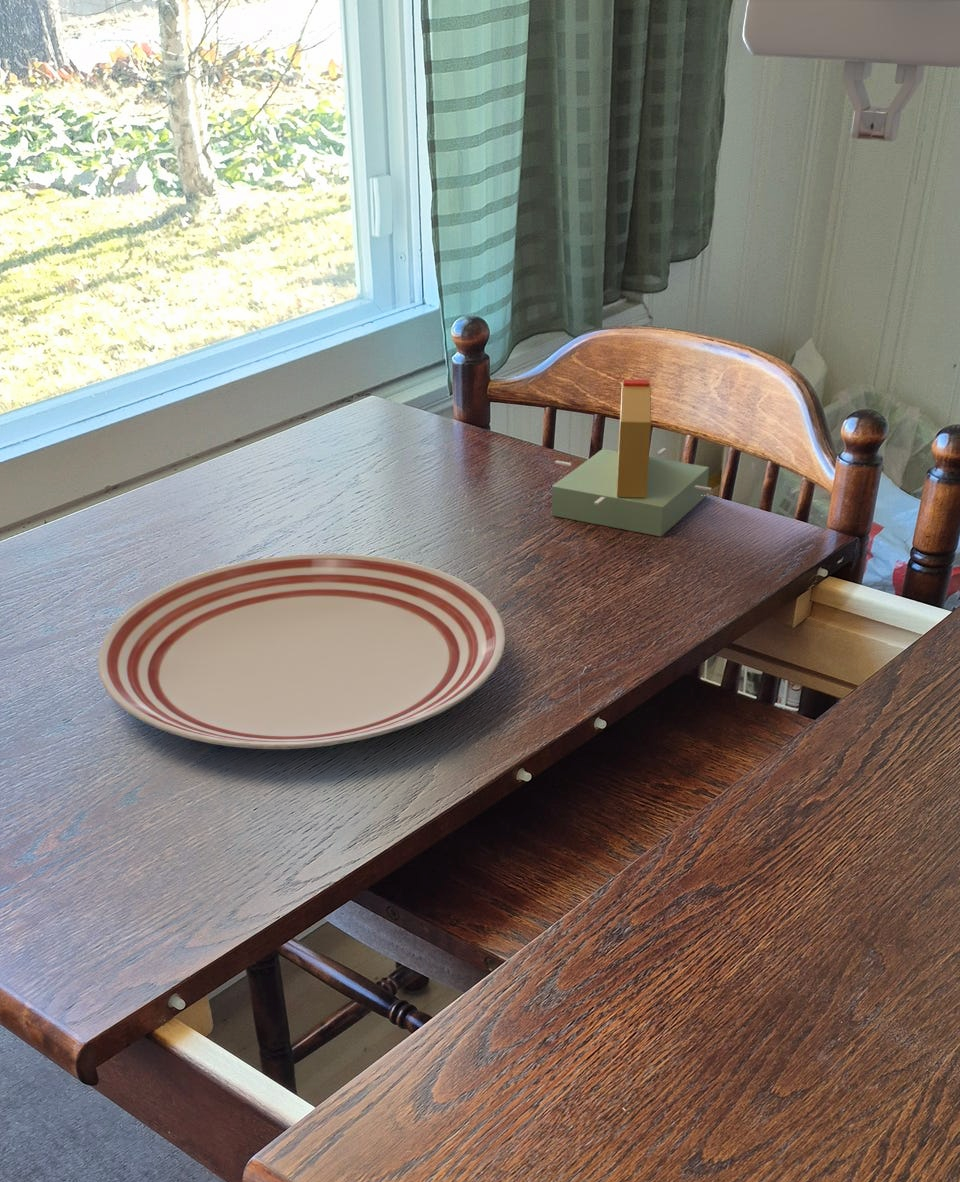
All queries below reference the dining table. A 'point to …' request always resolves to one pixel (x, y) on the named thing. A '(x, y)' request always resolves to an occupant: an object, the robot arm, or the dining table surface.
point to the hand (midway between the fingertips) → (873, 139)
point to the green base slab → (596, 497)
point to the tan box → (634, 438)
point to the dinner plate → (301, 650)
